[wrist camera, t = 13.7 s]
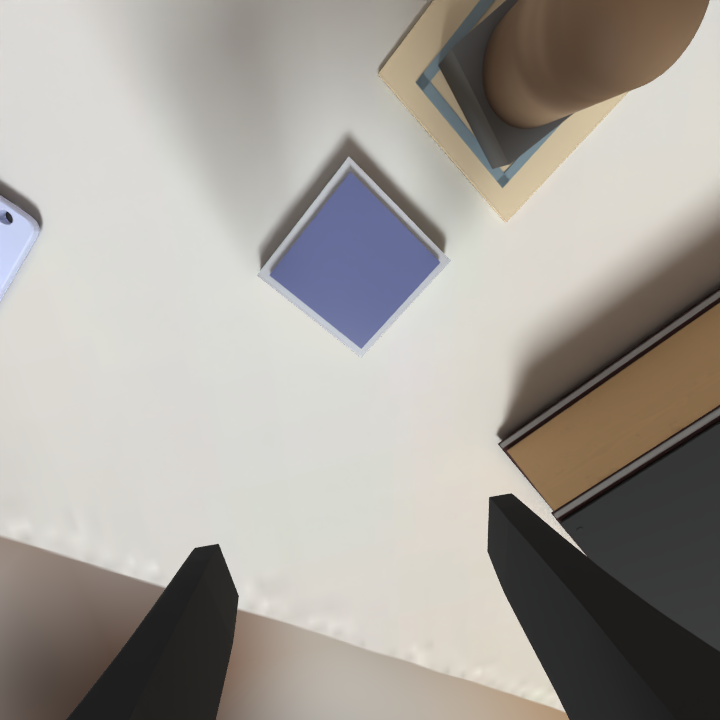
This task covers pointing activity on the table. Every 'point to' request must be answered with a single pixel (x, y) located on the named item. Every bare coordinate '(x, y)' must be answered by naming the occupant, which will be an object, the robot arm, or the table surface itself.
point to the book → (642, 468)
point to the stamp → (560, 63)
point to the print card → (447, 122)
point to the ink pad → (354, 260)
